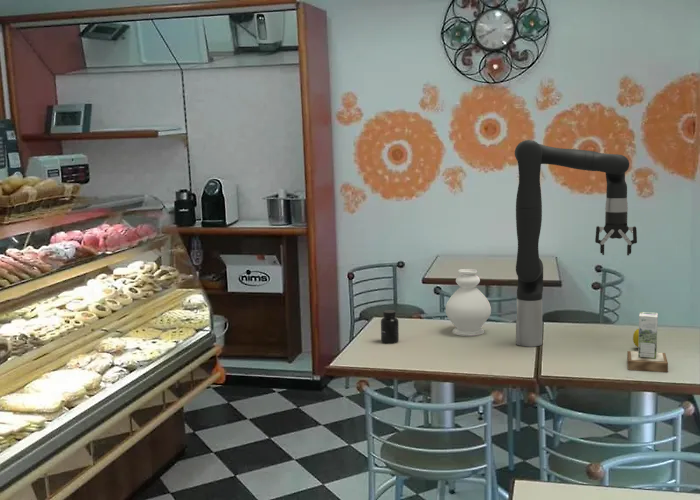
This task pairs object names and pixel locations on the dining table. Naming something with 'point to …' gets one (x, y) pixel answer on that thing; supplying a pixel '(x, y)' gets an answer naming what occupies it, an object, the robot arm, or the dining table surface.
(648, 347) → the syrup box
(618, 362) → the dining table surface
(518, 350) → the dining table surface
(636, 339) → the lemon
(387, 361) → the dining table surface
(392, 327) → the supplement bottle
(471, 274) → the decorative vase
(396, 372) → the dining table surface
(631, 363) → the plinth
